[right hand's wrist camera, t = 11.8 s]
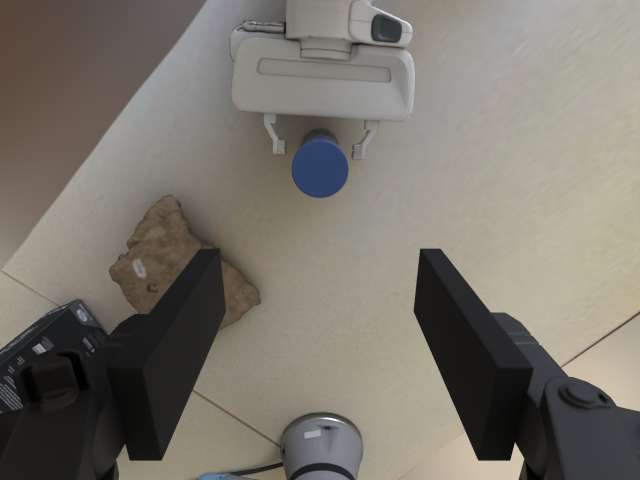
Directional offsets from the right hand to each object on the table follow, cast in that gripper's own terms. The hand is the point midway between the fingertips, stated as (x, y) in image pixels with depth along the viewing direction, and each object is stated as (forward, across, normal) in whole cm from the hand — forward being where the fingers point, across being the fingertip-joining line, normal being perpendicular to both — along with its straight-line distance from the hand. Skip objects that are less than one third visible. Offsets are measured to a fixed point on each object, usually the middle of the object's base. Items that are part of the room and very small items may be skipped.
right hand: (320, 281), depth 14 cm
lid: (+23, 0, 0) cm, 23 cm away
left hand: (+33, 0, 0) cm, 33 cm away
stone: (+39, -20, -18) cm, 47 cm away
